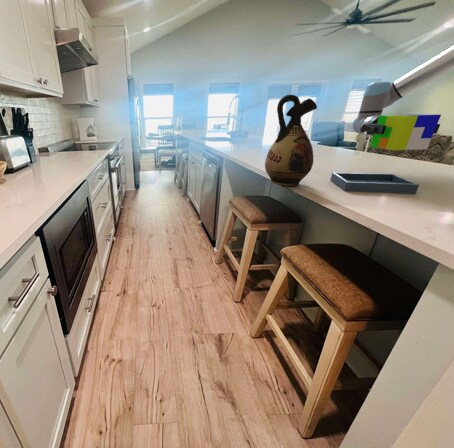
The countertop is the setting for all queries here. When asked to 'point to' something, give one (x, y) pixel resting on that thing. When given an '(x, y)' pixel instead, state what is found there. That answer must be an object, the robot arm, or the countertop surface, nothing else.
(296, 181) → the ceramic jug
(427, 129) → the puzzle toy
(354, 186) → the storage tray
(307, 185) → the countertop surface
